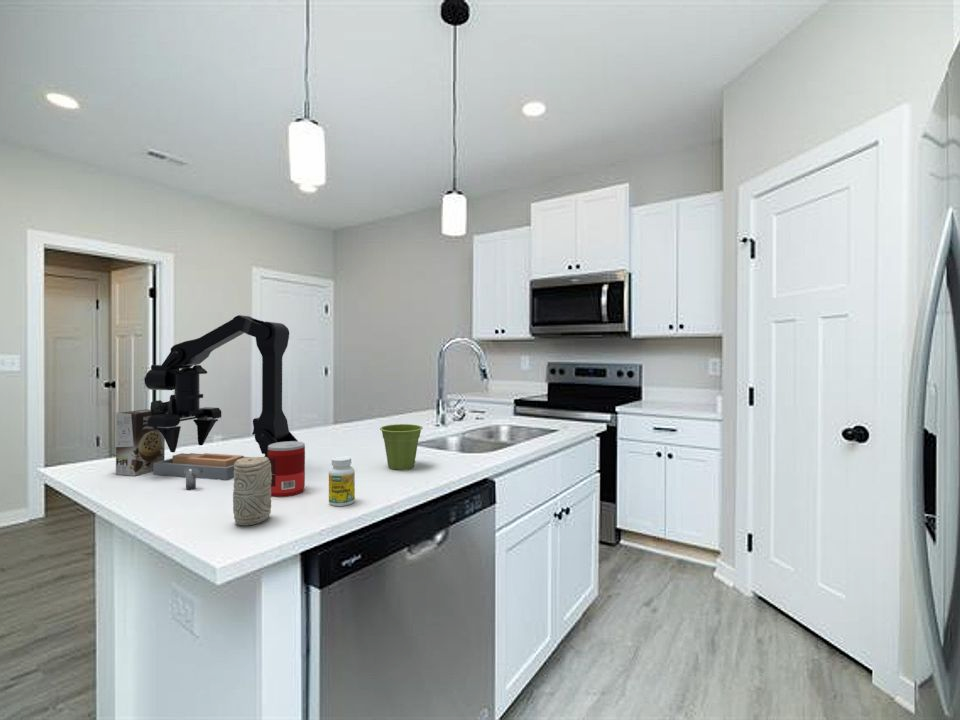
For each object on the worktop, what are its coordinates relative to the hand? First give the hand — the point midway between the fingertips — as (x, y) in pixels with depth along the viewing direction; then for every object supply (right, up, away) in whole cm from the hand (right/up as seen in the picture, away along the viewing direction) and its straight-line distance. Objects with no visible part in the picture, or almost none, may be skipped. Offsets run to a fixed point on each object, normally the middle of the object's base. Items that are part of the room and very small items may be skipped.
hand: (187, 448), depth 127 cm
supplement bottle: (+49, -7, -26) cm, 56 cm away
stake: (+11, -6, -17) cm, 21 cm away
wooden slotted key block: (+6, -5, -1) cm, 8 cm away
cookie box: (-11, -6, -2) cm, 13 cm away
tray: (+6, -6, -1) cm, 9 cm away
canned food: (+34, -7, -18) cm, 39 cm away
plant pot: (+57, -7, +6) cm, 57 cm away
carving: (+35, -7, -37) cm, 52 cm away
